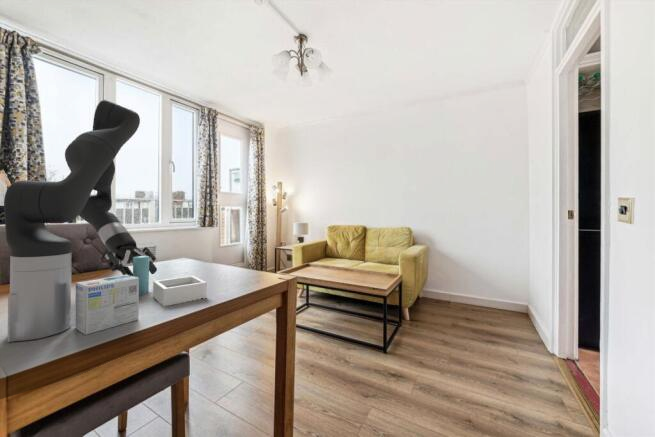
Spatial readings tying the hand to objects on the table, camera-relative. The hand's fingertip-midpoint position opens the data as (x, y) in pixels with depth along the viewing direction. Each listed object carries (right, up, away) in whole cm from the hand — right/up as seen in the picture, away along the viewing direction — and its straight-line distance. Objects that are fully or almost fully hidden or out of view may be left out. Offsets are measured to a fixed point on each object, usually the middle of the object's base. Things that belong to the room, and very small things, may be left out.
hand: (143, 274), depth 88 cm
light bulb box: (+8, -7, -24) cm, 27 cm away
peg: (-1, -6, 0) cm, 6 cm away
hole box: (+14, -7, -3) cm, 15 cm away
